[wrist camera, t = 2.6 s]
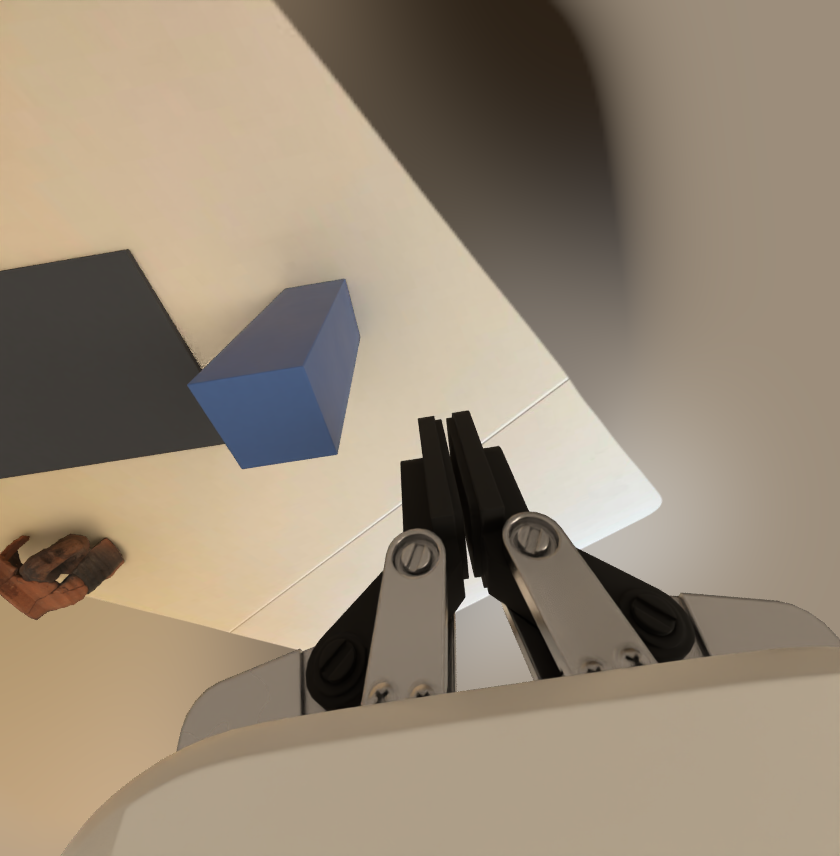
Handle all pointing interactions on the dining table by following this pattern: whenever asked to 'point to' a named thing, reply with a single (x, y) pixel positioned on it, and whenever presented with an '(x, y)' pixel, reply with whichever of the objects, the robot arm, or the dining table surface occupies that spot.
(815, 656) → the robot arm
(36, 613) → the brown broken pot
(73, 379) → the rubber mat
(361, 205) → the dining table surface
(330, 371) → the blue post
